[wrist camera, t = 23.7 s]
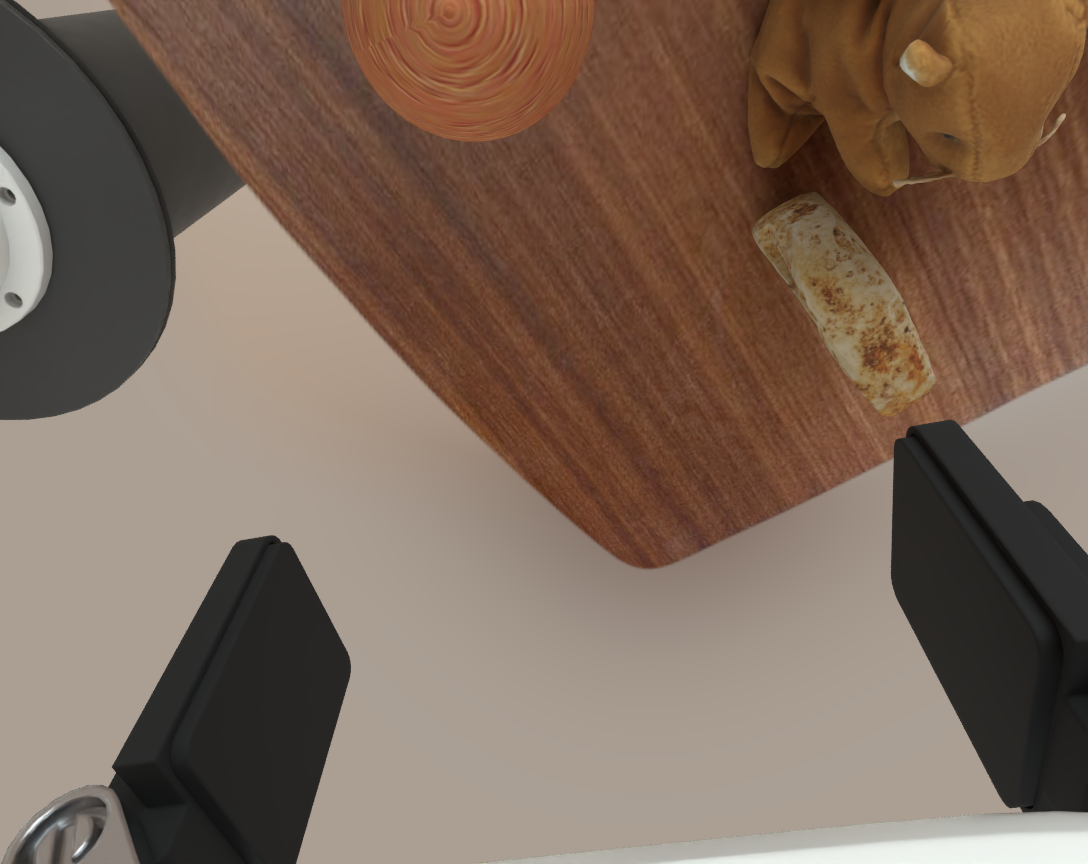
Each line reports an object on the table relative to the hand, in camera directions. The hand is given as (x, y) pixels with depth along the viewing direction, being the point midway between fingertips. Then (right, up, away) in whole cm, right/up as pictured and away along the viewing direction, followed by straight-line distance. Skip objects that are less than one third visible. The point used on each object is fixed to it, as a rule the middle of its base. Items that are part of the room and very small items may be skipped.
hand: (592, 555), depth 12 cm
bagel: (+13, +11, +27) cm, 32 cm away
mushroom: (-3, +21, +21) cm, 29 cm away
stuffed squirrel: (+12, +21, +20) cm, 31 cm away
